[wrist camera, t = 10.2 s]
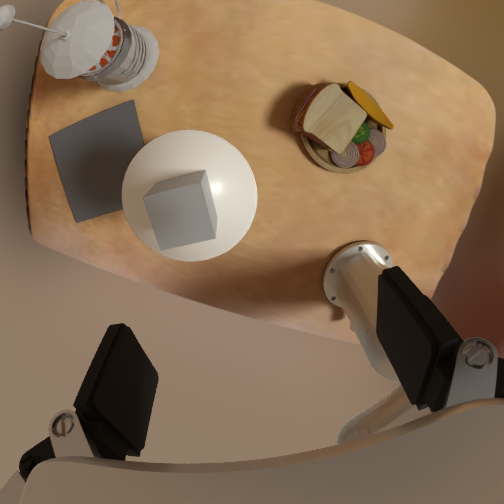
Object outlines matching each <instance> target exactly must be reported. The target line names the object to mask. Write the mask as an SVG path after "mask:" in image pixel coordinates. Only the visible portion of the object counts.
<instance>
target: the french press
mask: <svg viewBox="0 0 504 504" xmlns="http://www.w3.org/2000/svg"><path fill="white" fill-rule="evenodd" d="M100 2H101V3H100ZM100 2H97V0H95V1H85V0H82V2H79V3H77V4H75V5H73V6H70V7H68V8H66V9H65V10H64V11H63V12H62V13H61V14H60V15H58V16H57V17H56V18H55V19H54V20H53V22H52V23H51V25H50V26H49V28H45V27H42V26H39V25H35V24H32V23H28V22H24V21H20V20H16V19H13V17H14V15H15V8H14V6H12V5H5V6H2V7H0V32H1V31H3V30H4V29H6V28H7V27H8V25H9V24H10V23H11V22H17V23H21V24H25V25H29V26H33V27H36V28H40V29H43V30H47V31H46V33H45V35H44V38H43V41H42V45H41V48H40V54H41V64H42V65H43V67H44V69H45V71H46V73H48V74H49V75H51V76H53V77H54V78H56V79H71V78H74V77H76V76H78V77H80V78H82V79H85V80H88V81H95V82H97V83H98V85H99V86H101V87H103V88H104V89H106V90H108V91H115V92H123V91H126V90H130V89H133V88H135V87H137V86H138V85H139V84H141V83H142V82H144V81H145V80H146V79H147V78H148V77H149V75H150V74H151V72H152V71H153V70H154V68H155V66H156V63H157V60H158V56H159V49H158V41H157V40H156V38H155V37H154V35H153V34H152V32H151V31H149V30H147V29H145V28H143V27H141V26H130V25H129V24H128V23H126V22H125V21H123V20H121V19H120V7H119V3H118V1H117V0H115V2H116V5H117V9H118V18H117V17H114V15H113V14H112V12H111V11H110V9H109V8H108V6H107V5H105V3H104V2H103V0H100ZM86 77H88V78H90V77H92V78H93V79H95V80H93V79H92V78H90V79H88V78H86Z"/></svg>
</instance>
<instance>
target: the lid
mask: <svg viewBox="0 0 504 504" xmlns="http://www.w3.org/2000/svg"><path fill="white" fill-rule="evenodd" d="M122 204H123V210H124V213H125V217H126V219H127V221H128V224H129V225H130V227H131V229H132V231H133V232H134V233H135V235H136V236H137V237H138V238H139V239H140V240H141V241H142V242H143V243H144V244H145V245H146V246H147V247H149V248H150V249H151V250H153V251H155V252H156V253H158V254H160V255H162V256H165V257H167V258H170V259H174V260H179V261H188V262H189V261H202V260H207V259H211V258H214V257H216V256H219V255H221V254H223V253H225V252H227V251H228V250H230V249H231V248H232V247H234V246H235V245H236V244H237V243H238V242H239V241H240V240H241V239H242V238H243V236H244V235H245V234H246V232H247V231H248V229H249V228H250V226H251V223H252V221H253V219H254V216H255V212H256V207H257V187H256V182H255V178H254V175H253V173H252V170H251V168H250V166H249V164H248V162H247V161H246V159H245V157H244V156H243V155H242V154H241V152H240V151H239V150H238V149H237V148H236V147H235V146H233V145H232V144H231V143H230V142H228V141H227V140H225V139H223V138H222V137H220V136H218V135H215V134H212V133H210V132H206V131H201V130H191V129H189V130H178V131H174V132H170V133H167V134H164V135H162V136H160V137H158V138H156V139H154V140H152V141H151V142H149V143H148V144H146V145H145V146H144V147H143V148H142V149H141V150H140V151H139V152H138V153H137V154H136V156H135V157H134V158H133V159H132V161H131V163H130V165H129V166H128V169H127V171H126V173H125V177H124V180H123V186H122Z"/></svg>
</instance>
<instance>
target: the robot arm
mask: <svg viewBox="0 0 504 504" xmlns="http://www.w3.org/2000/svg"><path fill="white" fill-rule="evenodd" d="M322 284H323V290H324V292H325V294H326V296H327V298H328V300H329V301H330V302H331V303H332V304H334V305H336V306H337V307H340V308H343V309H344V311H345V313H346V315H347V317H348V319H349V321H350V329H351V330H352V331H354V332H355V333H356V335H357V337H358V339H359V341H360V343H361V345H362V347H363V349H364V351H365V353H366V355H367V358H368V360H369V362H370V364H371V366H372V367H373V369H374V370H375V371H376V372H377V373H378V374H380V375H381V376H383V377H385V378H387V379H390V380H393V381H397V382H400V383H401V385H400V386H399V387H398V388H397V389H395V390H394V391H393V392H392V393H391V394H389V395H388V396H387V397H385V398H384V399H382V400H381V401H379V402H378V403H376V404H375V405H373V406H372V407H370V408H369V409H367V410H365V411H364V412H362V413H361V414H360V415H358V416H356V417H355V418H353V419H352V420H350V421H349V422H348V423H347V424H346V425H345V426H344V427H343V428H342V429H341V431H340V433H339V435H338V440H337V445H334V446H330V447H326V448H321V449H317V450H312V451H307V452H302V453H297V454H291V455H285V456H279V457H273V458H265V459H257V460H248V461H237V462H224V463H202V464H166V463H146V462H133V461H126V459H125V458H126V455H128V456H137V457H139V456H140V452H141V450H142V449H143V448H144V446H145V441H146V436H147V431H148V426H149V421H150V416H151V411H152V406H153V402H154V397H155V393H156V388H157V384H158V373H157V371H156V370H155V368H154V366H153V365H152V363H151V362H150V360H149V359H148V357H147V355H146V354H145V352H144V351H143V349H142V347H141V346H140V344H139V342H138V341H137V339H136V337H135V335H134V334H133V332H132V330H131V329H130V327H128V326H126V325H125V324H123V323H121V324H114V325H110V326H109V327H108V329H107V331H106V333H105V335H104V337H103V339H102V341H101V343H100V345H99V347H98V350H97V352H96V354H95V356H94V358H93V360H92V362H91V365H90V367H89V369H88V371H87V374H86V376H85V378H84V381H83V383H82V385H81V388H80V390H79V392H78V395H77V397H76V399H75V402H74V404H73V406H74V407H75V408H76V411H75V412H73V411H72V410H63V411H60V412H58V413H57V414H56V415H55V416H54V417H53V419H52V420H51V422H50V424H49V435H50V436H49V437H48V438H46V439H45V440H43V441H42V442H40V443H39V444H37V445H36V446H34V447H33V448H31V449H30V450H29V451H27V452H26V453H25V454H23V456H22V457H21V460H20V463H19V470H20V472H19V471H16V472H15V473H14V474H13V476H12V477H11V478H10V479H9V480H8V482H7V483H6V484H5V485H4V487H3V488H2V489H1V490H0V504H504V359H502V358H498V355H497V351H496V349H495V347H494V346H493V345H492V344H491V343H490V342H489V341H487V340H485V339H482V338H471V339H467V340H466V341H463V340H462V339H461V338H460V336H459V335H458V334H457V332H456V331H455V330H454V329H453V327H452V326H451V325H450V323H449V322H448V321H447V320H446V319H445V317H444V316H443V315H442V314H441V312H440V311H439V310H438V309H437V307H436V306H435V305H434V304H433V303H432V301H431V300H430V299H429V298H428V297H427V296H426V295H423V294H422V292H421V291H420V290H419V289H418V288H417V287H416V285H415V284H414V283H413V282H412V281H411V280H410V279H409V277H408V276H407V275H406V274H405V273H404V272H403V271H402V270H401V268H400V267H398V266H395V267H393V262H392V258H391V256H390V254H389V253H388V251H387V250H386V249H385V248H384V247H383V246H381V245H380V244H378V243H375V242H371V241H361V242H356V243H353V244H350V245H348V246H346V247H344V248H343V249H341V250H340V251H339V252H337V253H336V254H335V255H334V257H333V258H332V259H331V260H330V262H329V263H328V265H327V267H326V269H325V271H324V275H323V283H322Z"/></svg>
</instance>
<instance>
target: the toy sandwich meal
mask: <svg viewBox="0 0 504 504" xmlns="http://www.w3.org/2000/svg"><path fill="white" fill-rule="evenodd" d="M393 127H394V126H393V124H392V123H391V122H390V120H389V119H388V118H387V116H386V115H385V114H384V112H383V111H382V109H381V107H380V106H379V104H378V102H377V101H376V100H375V99H374V97H373V96H372V95H370V94H369V93H368V92H367V91H365V90H364V89H362V88H360V87H358V86H357V85H355V84H354V83H353V82H352V81H349V82H348V83H329V84H327V85H325V84H315V85H313V86H312V87H311V88H309V89H308V90H307V91H306V92H305V93H304V94H303V96H302V97H301V98H300V100H299V101H298V103H297V105H296V107H295V109H294V112H293V115H292V118H291V130H292V131H294V132H300V133H301V138H302V141H303V144H304V146H305V148H306V150H307V152H308V153H309V155H310V156H311V157H312V159H313V160H314V161H315V162H316V163H318V164H319V165H320V166H322V167H323V168H325V169H327V170H330V171H332V172H336V173H354V172H357V171H360V170H362V169H364V168H366V167H368V166H369V165H370V164H371V163H373V162H374V161H375V159H376V158H377V157H378V156H379V155H380V154H382V153H383V152H384V150H385V148H386V128H388V129H393Z"/></svg>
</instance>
